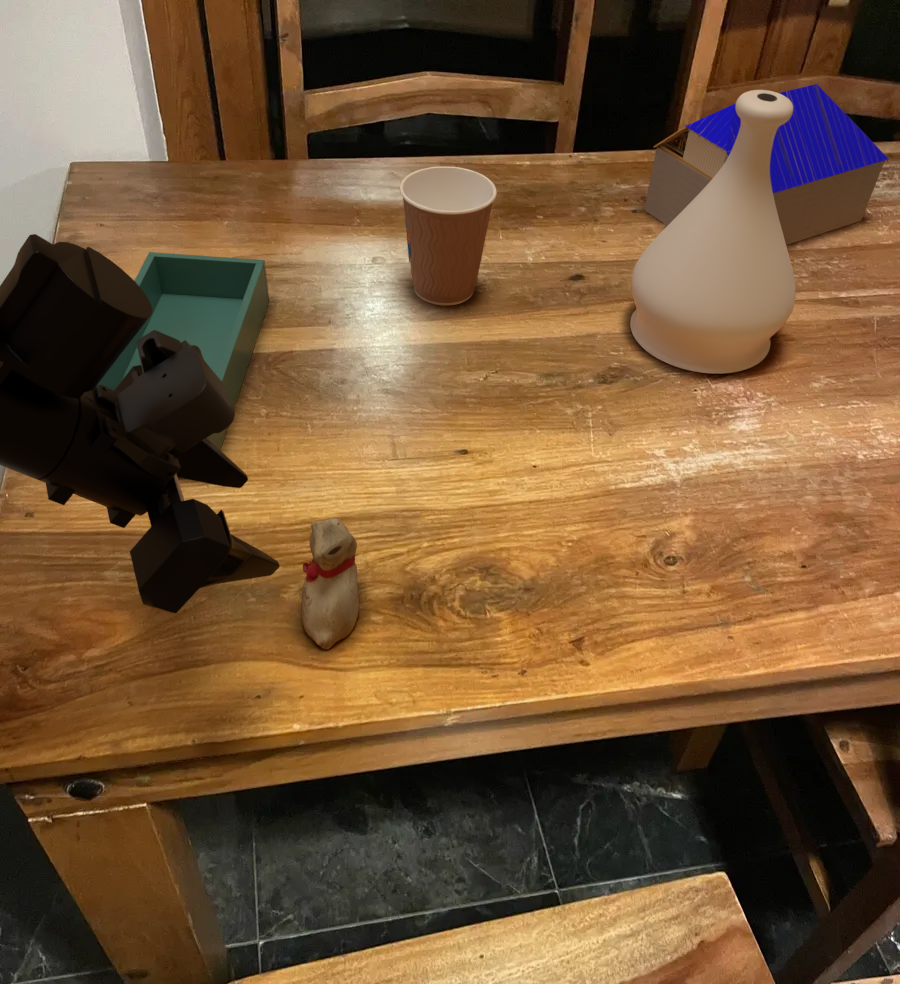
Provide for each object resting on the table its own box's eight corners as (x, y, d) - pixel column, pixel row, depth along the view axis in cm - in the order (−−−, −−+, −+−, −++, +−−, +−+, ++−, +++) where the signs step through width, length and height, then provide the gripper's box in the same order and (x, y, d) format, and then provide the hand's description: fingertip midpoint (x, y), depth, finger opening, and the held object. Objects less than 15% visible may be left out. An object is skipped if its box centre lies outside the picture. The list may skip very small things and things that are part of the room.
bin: (211, 477, 86) (202, 435, 82) (74, 468, 86) (60, 424, 82) (269, 300, 105) (264, 259, 101) (157, 293, 105) (149, 251, 101)
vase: (766, 296, 110) (844, 68, 91) (789, 386, 99) (882, 146, 80) (619, 284, 111) (666, 53, 92) (625, 371, 99) (679, 129, 80)
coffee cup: (431, 257, 113) (434, 157, 104) (504, 284, 109) (514, 183, 100) (381, 294, 107) (380, 192, 98) (457, 325, 104) (463, 221, 94)
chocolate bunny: (385, 590, 78) (384, 503, 70) (333, 655, 73) (325, 569, 66) (330, 565, 79) (323, 477, 72) (275, 626, 75) (261, 539, 67)
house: (723, 266, 114) (762, 135, 102) (640, 209, 123) (667, 81, 111) (864, 221, 123) (914, 95, 112) (777, 170, 132) (815, 48, 120)
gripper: (160, 436, 47) (374, 538, 58) (107, 251, 58) (296, 367, 69) (42, 579, 51) (264, 648, 62) (13, 380, 62) (206, 470, 73)
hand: (259, 523), depth 66 cm, fingers open, 9 cm apart
